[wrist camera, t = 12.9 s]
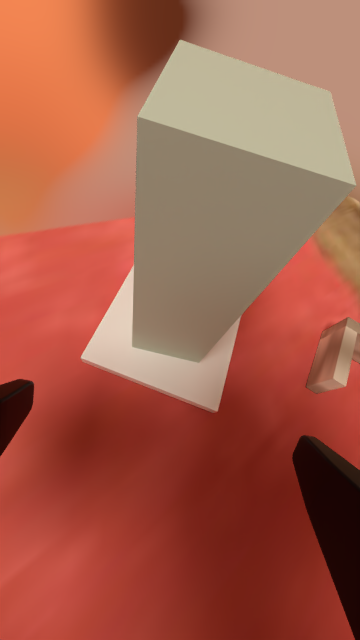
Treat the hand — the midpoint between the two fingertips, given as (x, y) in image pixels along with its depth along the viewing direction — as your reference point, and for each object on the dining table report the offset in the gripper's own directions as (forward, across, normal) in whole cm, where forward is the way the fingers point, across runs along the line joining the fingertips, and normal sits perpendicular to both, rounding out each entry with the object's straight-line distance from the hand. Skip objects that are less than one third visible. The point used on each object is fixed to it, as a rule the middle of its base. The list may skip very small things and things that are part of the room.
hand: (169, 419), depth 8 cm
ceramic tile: (+12, 0, +1) cm, 12 cm away
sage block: (+11, 0, 0) cm, 11 cm away
